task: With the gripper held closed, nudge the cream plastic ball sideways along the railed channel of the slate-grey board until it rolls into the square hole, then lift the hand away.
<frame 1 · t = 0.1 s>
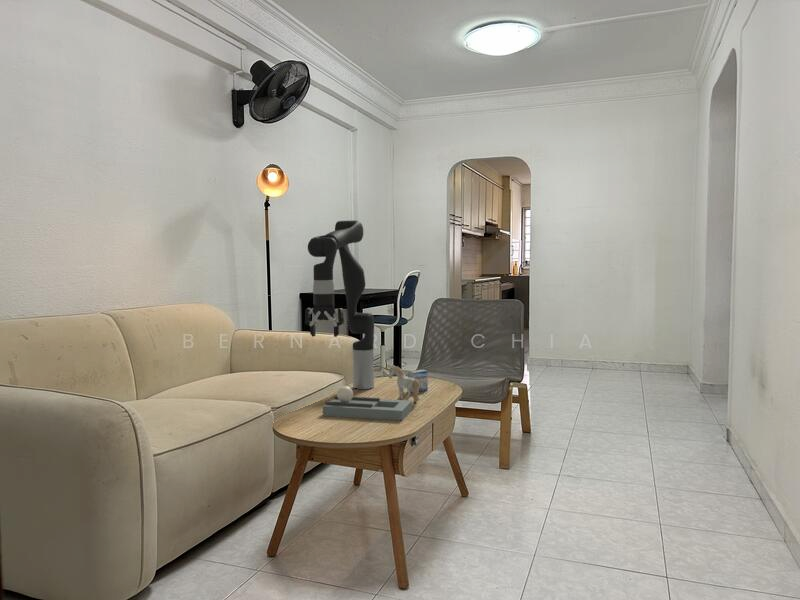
hand: (324, 336, 214), 29 cm above the table, tool pointing down, fingers open, 8 cm apart
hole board: (368, 412, 217), on the table
unicorn figurine: (399, 401, 234), on the table
medicine box: (417, 391, 252), on the table
plastic ball: (345, 394, 219), point 6 cm above the table, touching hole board
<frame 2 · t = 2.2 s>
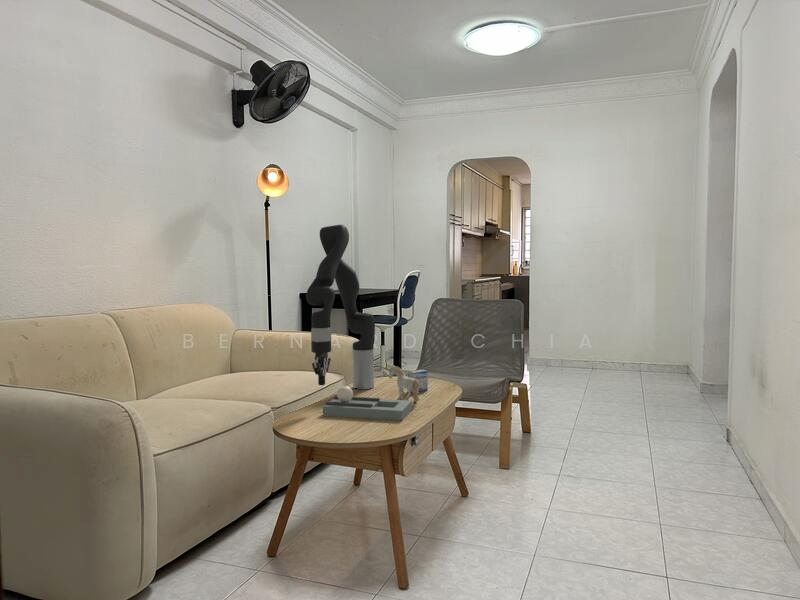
hand: (321, 384, 221), 10 cm above the table, tool pointing down, fingers closed
nothing on the table moved.
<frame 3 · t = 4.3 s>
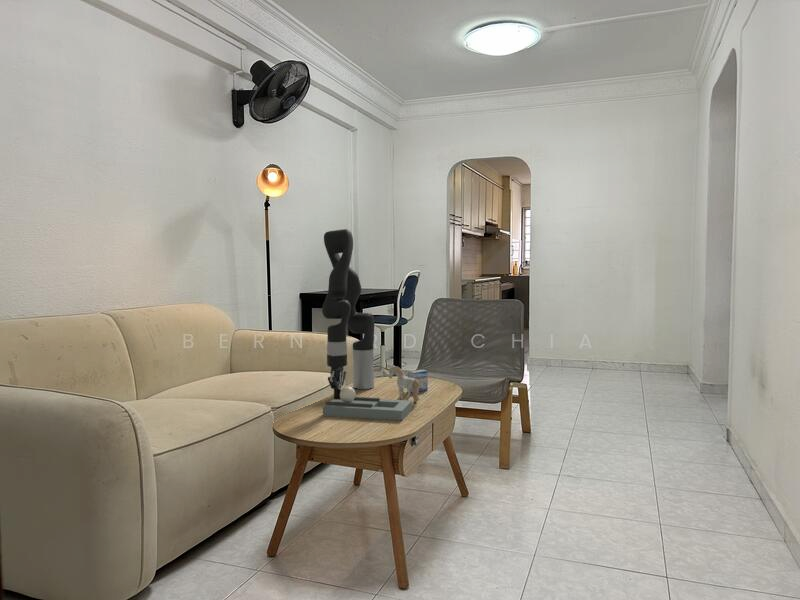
hand: (337, 398, 220), 5 cm above the table, tool pointing down, fingers closed
plastic ball: (347, 394, 219), point 6 cm above the table, tilted 16°, touching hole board
everything else where it was.
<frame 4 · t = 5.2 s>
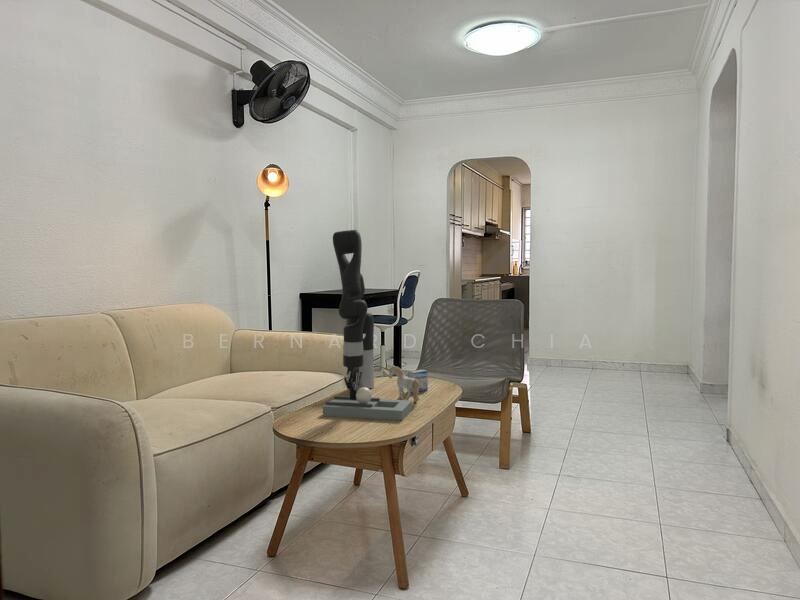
hand: (353, 399, 218), 5 cm above the table, tool pointing down, fingers closed
plastic ball: (363, 395, 217), point 6 cm above the table, tilted 100°, touching gripper, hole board
everything else where it was.
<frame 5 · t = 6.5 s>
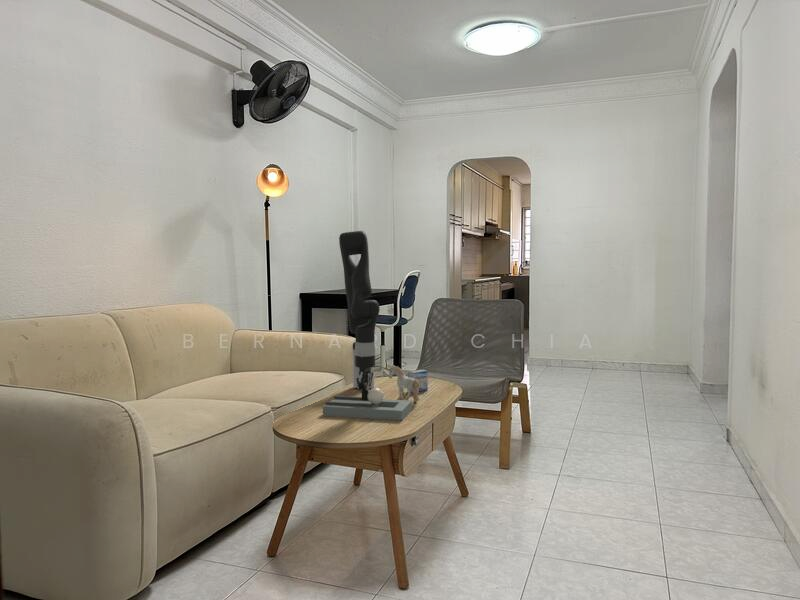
hand: (364, 399, 217), 5 cm above the table, tool pointing down, fingers closed
plastic ball: (375, 396, 216), point 6 cm above the table, tilted 150°, touching gripper, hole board
everything else where it was.
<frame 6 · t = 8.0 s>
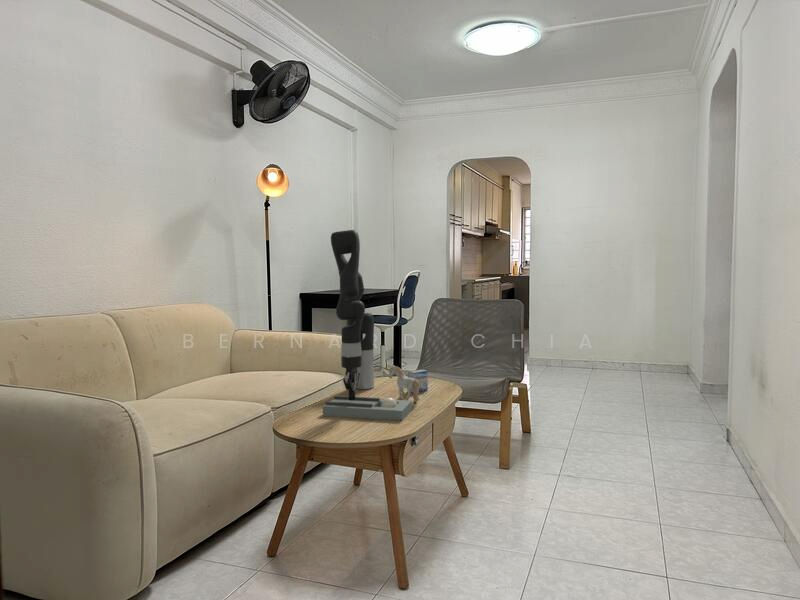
hand: (352, 400, 219), 4 cm above the table, tool pointing down, fingers closed
plastic ball: (388, 405, 215), point 3 cm above the table, tilted 92°
everything else where it was.
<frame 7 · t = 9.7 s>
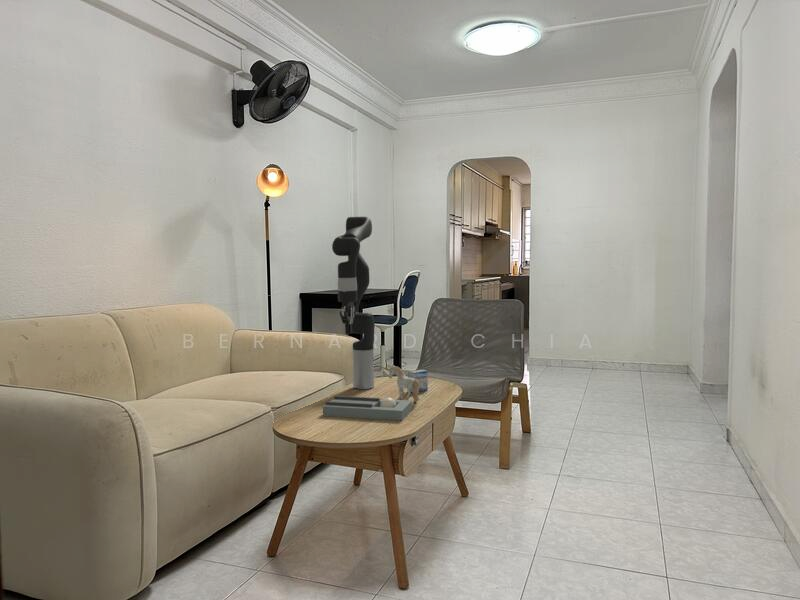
hand: (348, 333, 227), 28 cm above the table, tool pointing down, fingers closed
plastic ball: (388, 405, 215), point 3 cm above the table, tilted 97°
everything else where it was.
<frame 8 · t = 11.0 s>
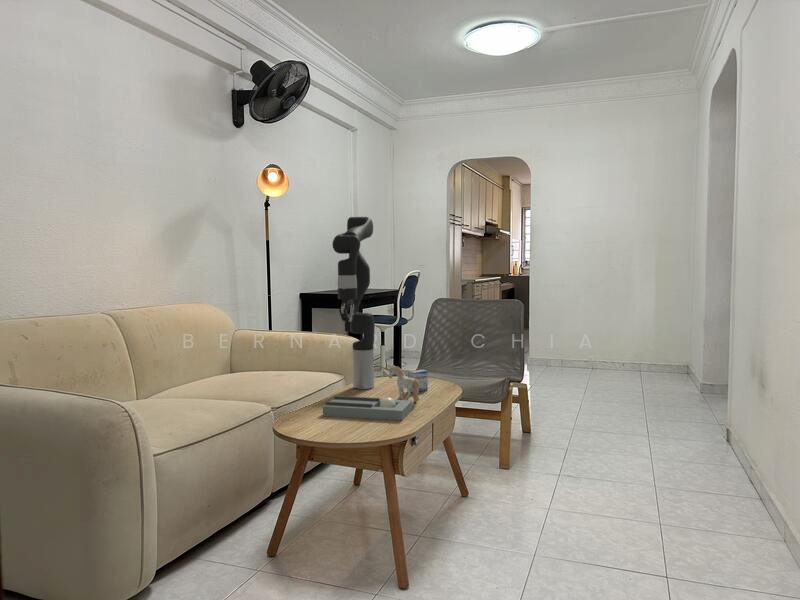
hand: (348, 331, 228), 29 cm above the table, tool pointing down, fingers closed
nothing on the table moved.
at the end: plastic ball 0.5 cm from the target spot on the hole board, point 3.0 cm above the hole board's base; plastic ball moved 16.8 cm from its start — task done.
